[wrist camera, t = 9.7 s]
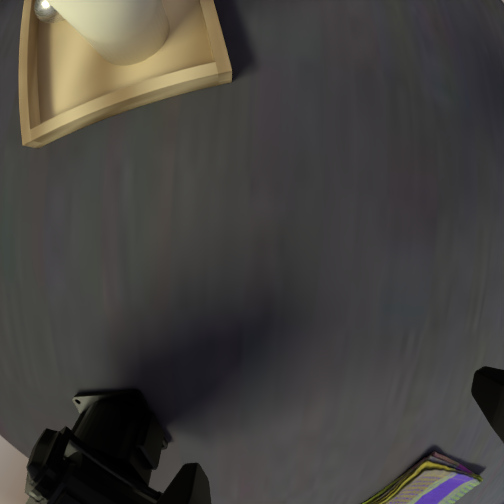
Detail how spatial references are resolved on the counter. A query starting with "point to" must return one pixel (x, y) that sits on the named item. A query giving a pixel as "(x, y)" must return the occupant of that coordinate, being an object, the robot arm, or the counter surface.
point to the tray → (111, 71)
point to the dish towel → (429, 483)
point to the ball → (46, 12)
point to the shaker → (118, 27)
